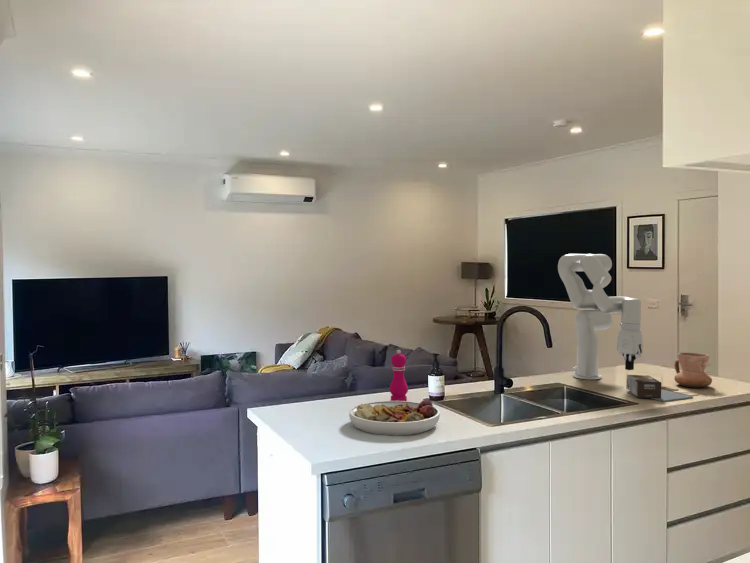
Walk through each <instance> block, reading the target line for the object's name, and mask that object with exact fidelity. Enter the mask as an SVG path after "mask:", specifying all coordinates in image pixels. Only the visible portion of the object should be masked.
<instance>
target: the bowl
mask: <svg viewBox="0 0 750 563" xmlns="http://www.w3.org/2000/svg"><path fill="white" fill-rule="evenodd" d="M348 413H349V414H348V416H349V419H350V422H351V423H352V425H353V426H354V427H356V429H358V430H361V431H363V432H364V433H369V434H372V435H380V436H397V437H398V436H409V435H418V434H422V433H425V432H428V431H429V430H431V429H433V428H434V427H435V426H437V424H438V423H439V421H440V416H441V413H440V410H439V409H438V408H437V407H435V406H433V402H432V401H431V400H430V399H428V398H425V399H423V400H422V401H420V402H417V401H408V400H407V401H391V400H382V401H381V400H379V401H369V402H364V403H361V404H357V405H355V406H353V407H351V408H350V409H349V412H348Z"/></svg>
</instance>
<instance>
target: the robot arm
mask: <svg viewBox="0 0 750 563" xmlns="http://www.w3.org/2000/svg"><path fill="white" fill-rule="evenodd" d="M612 267H613V262H612V259H611V257H610V256H608V255H607V254H603V253H596V254H595V253H568V254H564V255H562V256H561V257H560V258H559V260H558V264H557V271H558V274H559V277H560V279H561V282H563V284H564V287H565V289H566V292H567V295H568V298H569V300H570V303H571V305H572V307H573V308H574V309H575V310H579V312H577V313H576V314H575V316H574V325H575V330H576V365H575V366H574V367H572V368H571V370H572V371H573V372H574V371H575V373H572V375H573V377H574V378H576V379H581V380H589V381H590V380H591V381H592V380H594V381H595V380H601V379H602V377H603V376H602V375H601V374H599V338H598V335H597V333H596V331H604V330H608V329H610V328H611V327H612V324H613V317H612V315H613V314H621V317H620V319H621V322H620V323H619V326H620V329H619V331H618V335H617V342H616V350H617V352H618V353H619V355H620V356H622V357H623V360H624V361H625V366H624V367H625V368H624V369H625V370H627V371H634V367H635V366H634V365H635V361H636V359H638V358H642V355H641V354H642V353H643V347H644V346H643V335H642V330H641V319H642V318H641V316H642V315H641V313H642V312H641V311H642V308H641V307H642V301H641V299H640V298H637V297H636V298H635V297H630V296H629V297H628V296H624V295H623V296H622V295H621V296H619V295H618V296H611V295H610V296H609V295H608V294H606V292H605V290H604V288H606V287H607V286H608V285H609V284H610V283H611V281H612V276H611V275H610V274H611V273H609V271H610V270H611V269H612ZM576 272H584V273H585V275H586V277H587V278H588V280H589V281H590V283H591V284H592V285H593V287H592V289H587V287H586V286H585V283H584V281H583V278H581V277H580V276H579V274H577V273H576Z"/></svg>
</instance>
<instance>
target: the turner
mask: <svg viewBox="0 0 750 563" xmlns="http://www.w3.org/2000/svg"><path fill="white" fill-rule="evenodd" d="M664 389H665V391H668V390H670V392H674V393H679V394H683V395H688V396H692V397H695V396H694V395H696V396H699V393H696V392H692V391H687V390H684V389H683V390H682V389H679V388H675V387H672V386H666V385H662V384H661V390H664Z"/></svg>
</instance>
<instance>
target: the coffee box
mask: <svg viewBox="0 0 750 563" xmlns="http://www.w3.org/2000/svg"><path fill="white" fill-rule="evenodd" d="M661 385H662V381H659V380H657V379H656V378H654V377H652V376H651V375H645V374H626V390H628V391H630V392H632V393H633V394H634V396H636V398H647V399H650V398H661V390H662V389H661ZM633 394H632V395H633Z"/></svg>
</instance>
